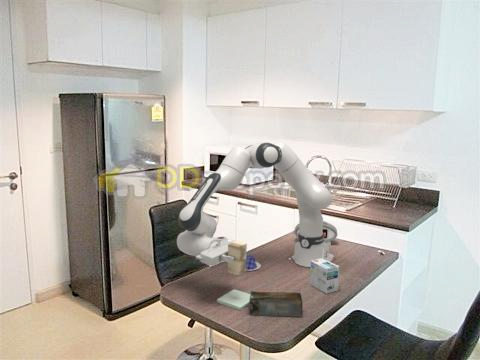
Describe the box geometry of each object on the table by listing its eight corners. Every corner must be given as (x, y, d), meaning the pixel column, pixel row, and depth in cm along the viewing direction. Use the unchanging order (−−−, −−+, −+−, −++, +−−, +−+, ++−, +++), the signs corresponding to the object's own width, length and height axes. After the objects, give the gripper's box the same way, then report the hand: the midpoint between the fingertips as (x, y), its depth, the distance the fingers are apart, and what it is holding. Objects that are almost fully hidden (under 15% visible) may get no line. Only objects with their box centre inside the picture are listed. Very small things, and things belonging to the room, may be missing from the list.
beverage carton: (249, 305, 153) (250, 288, 152) (300, 307, 151) (301, 290, 150) (248, 315, 145) (249, 298, 144) (302, 318, 144) (303, 301, 142)
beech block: (235, 268, 157) (235, 240, 155) (246, 271, 154) (246, 243, 152) (227, 272, 153) (228, 244, 151) (238, 275, 150) (238, 247, 148)
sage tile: (234, 291, 163) (234, 289, 163) (256, 299, 157) (257, 296, 157) (217, 302, 154) (217, 299, 154) (240, 310, 148) (240, 307, 148)
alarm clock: (293, 243, 223) (294, 220, 220) (294, 239, 229) (295, 217, 226) (336, 246, 218) (338, 223, 216) (336, 242, 224) (337, 220, 222)
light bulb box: (338, 290, 165) (340, 265, 163) (326, 294, 162) (327, 268, 160) (321, 281, 174) (322, 257, 172) (309, 284, 171) (310, 260, 169)
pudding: (264, 264, 192) (264, 254, 191) (254, 273, 182) (255, 262, 181) (241, 260, 197) (241, 250, 196) (231, 269, 187) (231, 258, 186)
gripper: (192, 248, 151) (222, 257, 143) (226, 235, 167) (254, 242, 159) (193, 264, 152) (222, 273, 144) (226, 249, 168) (253, 257, 160)
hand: (239, 257), depth 152 cm, fingers closed on beech block, 5 cm apart
